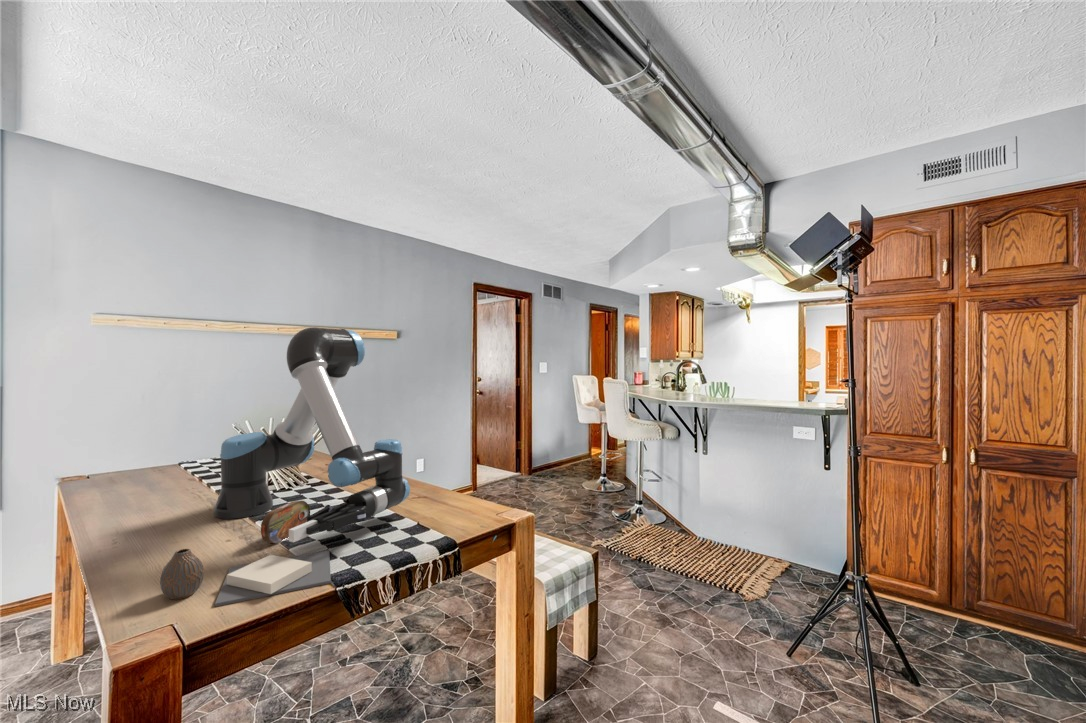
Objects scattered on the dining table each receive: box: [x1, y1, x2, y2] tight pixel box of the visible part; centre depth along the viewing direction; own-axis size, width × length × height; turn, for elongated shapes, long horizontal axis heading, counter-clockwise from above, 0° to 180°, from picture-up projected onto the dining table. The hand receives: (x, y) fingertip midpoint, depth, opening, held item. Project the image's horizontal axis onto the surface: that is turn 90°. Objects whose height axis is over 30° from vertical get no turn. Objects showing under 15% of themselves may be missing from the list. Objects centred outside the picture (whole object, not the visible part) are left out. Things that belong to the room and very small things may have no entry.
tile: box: [226, 554, 312, 594], centre depth 96 cm, size 12×2×10 cm
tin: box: [260, 500, 311, 544], centre depth 120 cm, size 15×3×8 cm, turn 168°
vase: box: [159, 548, 205, 600], centre depth 91 cm, size 7×7×9 cm
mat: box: [214, 549, 332, 608], centre depth 98 cm, size 17×20×1 cm
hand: (291, 535), depth 101 cm, fingers closed
